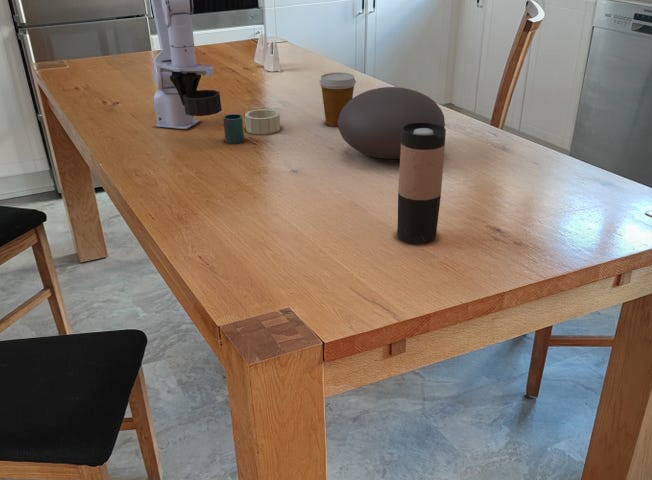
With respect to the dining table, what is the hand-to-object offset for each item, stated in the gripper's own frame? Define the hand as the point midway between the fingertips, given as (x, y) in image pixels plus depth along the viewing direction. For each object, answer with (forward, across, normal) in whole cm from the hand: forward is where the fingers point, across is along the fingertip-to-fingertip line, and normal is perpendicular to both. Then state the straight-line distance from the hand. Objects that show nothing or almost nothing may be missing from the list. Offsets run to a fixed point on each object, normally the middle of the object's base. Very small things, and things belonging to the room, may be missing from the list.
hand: (188, 104), depth 177 cm
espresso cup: (+9, +10, +4) cm, 14 cm away
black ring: (+1, +4, 0) cm, 4 cm away
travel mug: (+9, +67, -37) cm, 77 cm away
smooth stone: (+9, +50, +6) cm, 51 cm away
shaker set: (+9, -14, +78) cm, 79 cm away
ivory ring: (+9, +13, +15) cm, 22 cm away
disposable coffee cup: (+9, +30, +26) cm, 40 cm away
